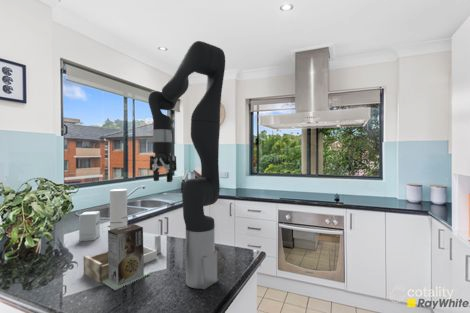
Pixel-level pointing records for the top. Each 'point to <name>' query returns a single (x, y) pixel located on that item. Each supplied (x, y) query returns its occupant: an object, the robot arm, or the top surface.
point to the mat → (115, 286)
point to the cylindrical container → (118, 208)
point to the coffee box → (125, 253)
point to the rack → (97, 266)
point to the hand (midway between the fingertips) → (162, 181)
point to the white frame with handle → (150, 253)
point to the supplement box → (89, 226)
